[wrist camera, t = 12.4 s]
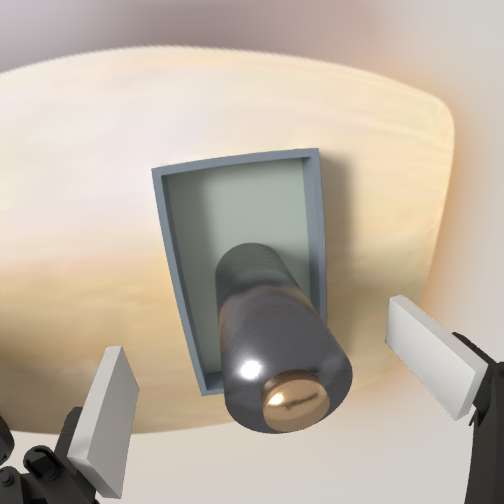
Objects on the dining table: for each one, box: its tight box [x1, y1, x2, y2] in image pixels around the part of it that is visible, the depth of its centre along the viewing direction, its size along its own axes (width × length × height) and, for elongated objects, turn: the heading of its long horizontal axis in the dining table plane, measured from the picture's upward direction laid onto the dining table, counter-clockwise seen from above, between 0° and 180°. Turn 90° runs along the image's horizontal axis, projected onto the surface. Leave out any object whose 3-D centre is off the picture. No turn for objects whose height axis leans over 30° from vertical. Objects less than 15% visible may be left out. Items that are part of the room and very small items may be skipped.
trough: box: [151, 148, 327, 396], centre depth 22 cm, size 10×17×3 cm, turn 7°
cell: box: [215, 243, 352, 434], centre depth 16 cm, size 5×5×13 cm
